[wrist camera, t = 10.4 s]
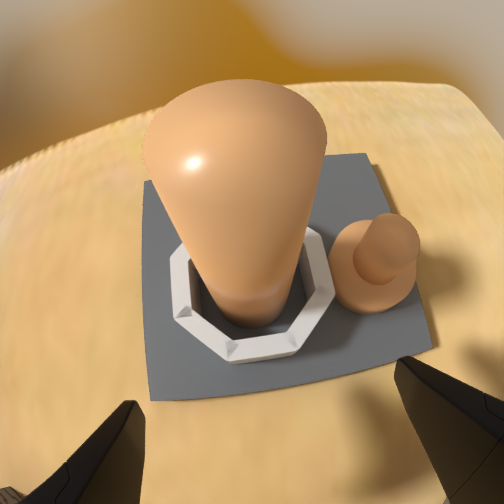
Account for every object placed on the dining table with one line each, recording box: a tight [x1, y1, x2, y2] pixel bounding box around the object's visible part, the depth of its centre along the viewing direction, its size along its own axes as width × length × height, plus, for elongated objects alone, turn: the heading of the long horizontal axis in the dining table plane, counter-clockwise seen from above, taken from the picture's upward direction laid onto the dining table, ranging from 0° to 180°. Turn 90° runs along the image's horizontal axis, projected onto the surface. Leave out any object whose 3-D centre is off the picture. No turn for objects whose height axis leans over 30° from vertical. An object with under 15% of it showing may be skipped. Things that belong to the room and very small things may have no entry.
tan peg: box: [142, 79, 327, 328], centre depth 13 cm, size 4×4×13 cm
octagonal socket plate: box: [142, 153, 433, 401], centre depth 18 cm, size 16×18×6 cm
